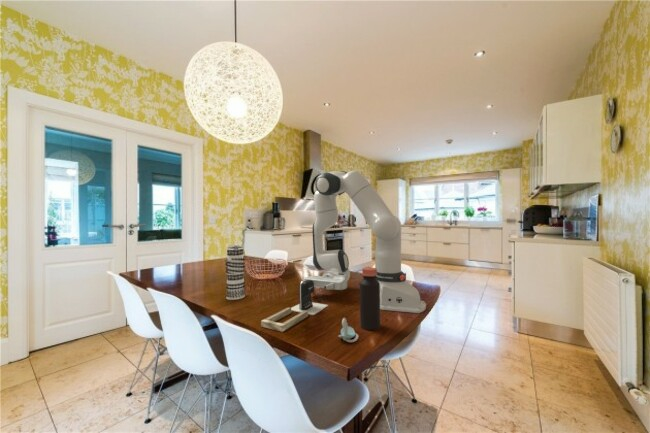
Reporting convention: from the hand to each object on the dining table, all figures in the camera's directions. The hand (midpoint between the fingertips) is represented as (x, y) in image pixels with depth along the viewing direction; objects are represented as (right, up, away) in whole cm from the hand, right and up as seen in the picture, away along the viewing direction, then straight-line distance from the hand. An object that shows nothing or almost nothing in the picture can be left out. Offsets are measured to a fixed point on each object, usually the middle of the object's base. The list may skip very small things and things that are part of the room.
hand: (316, 286), depth 115 cm
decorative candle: (-39, -8, +11) cm, 42 cm away
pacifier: (+11, -8, -33) cm, 36 cm away
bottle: (+20, -7, -25) cm, 32 cm away
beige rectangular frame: (-10, -8, -19) cm, 22 cm away
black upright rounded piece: (-3, -7, -7) cm, 10 cm away
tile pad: (-3, -8, -5) cm, 10 cm away
